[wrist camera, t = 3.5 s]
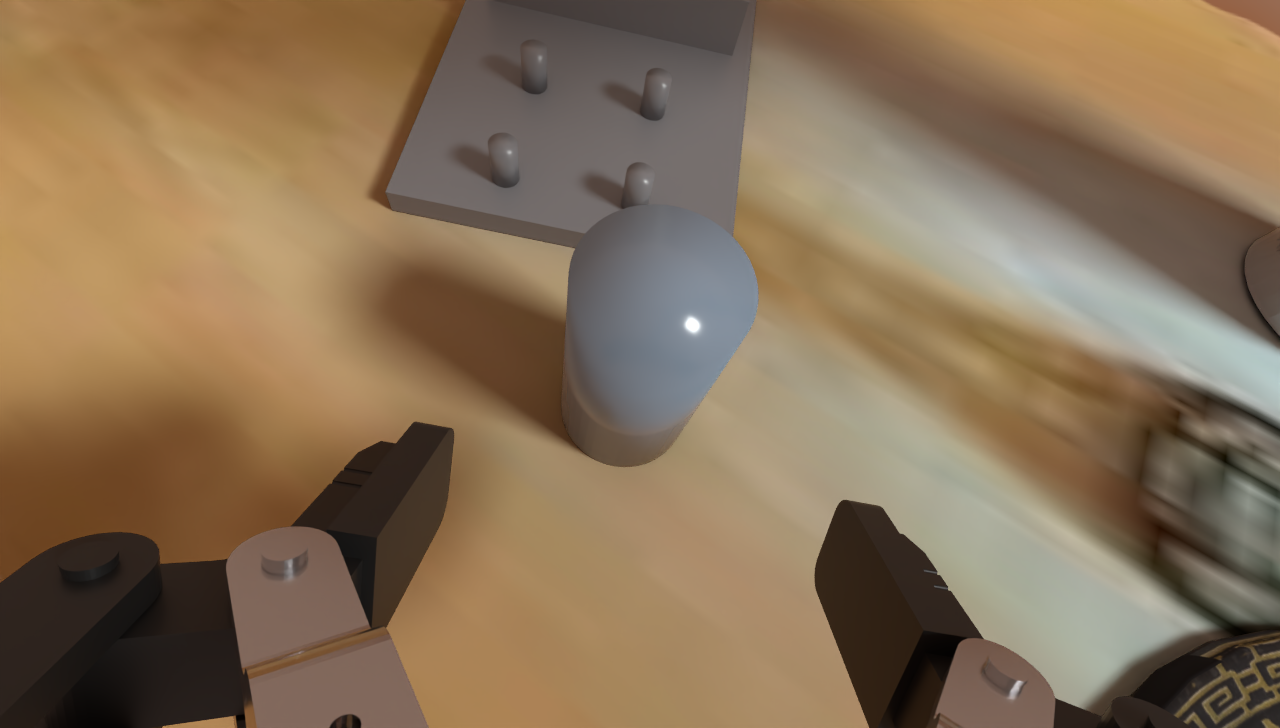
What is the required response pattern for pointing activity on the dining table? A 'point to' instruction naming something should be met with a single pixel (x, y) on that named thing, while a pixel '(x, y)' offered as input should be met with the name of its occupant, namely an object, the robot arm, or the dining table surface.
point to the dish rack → (580, 115)
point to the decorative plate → (1222, 683)
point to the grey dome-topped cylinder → (649, 328)
